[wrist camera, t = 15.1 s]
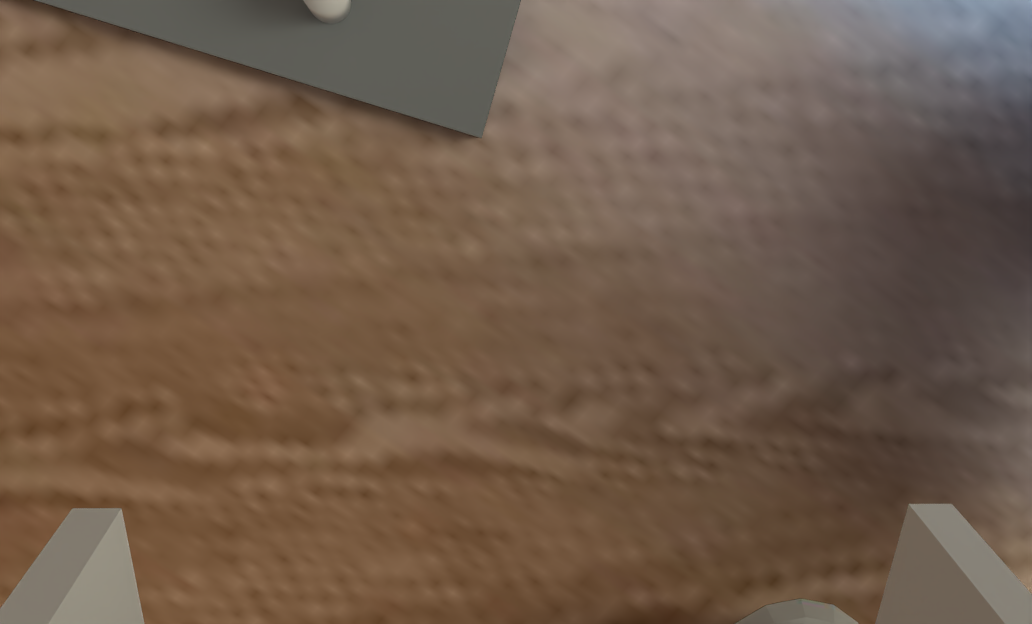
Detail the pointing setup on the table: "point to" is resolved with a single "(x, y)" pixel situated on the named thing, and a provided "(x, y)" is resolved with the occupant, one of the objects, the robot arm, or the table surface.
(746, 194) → the table surface
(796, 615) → the french press
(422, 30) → the pin tray
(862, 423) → the table surface
